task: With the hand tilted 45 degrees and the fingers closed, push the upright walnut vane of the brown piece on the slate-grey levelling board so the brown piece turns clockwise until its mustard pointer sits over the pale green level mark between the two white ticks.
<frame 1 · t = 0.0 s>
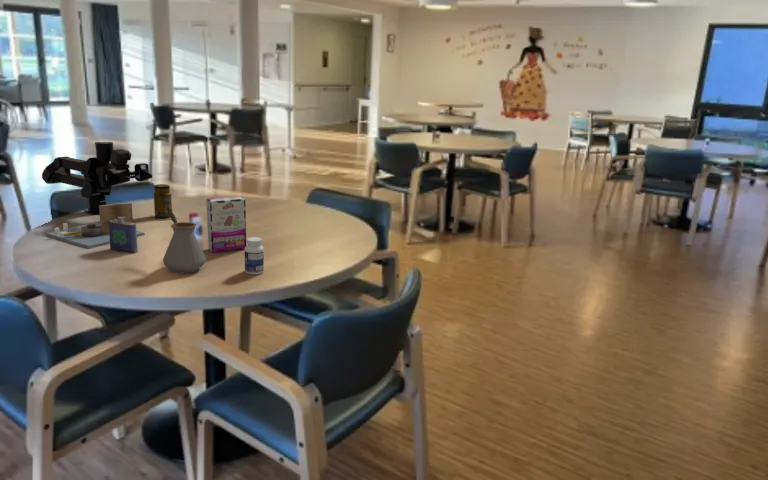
hand: (140, 177, 202), 17 cm above the table, tool horizontal, fingers open, 9 cm apart
condiment: (163, 217, 217), on the table
brown piece: (98, 219, 187), point 6 cm above the table, hinge at 0.0°
flask: (123, 251, 177), on the table
candy bar box: (227, 249, 184), on the table
pill bottle: (254, 272, 165), on the table
coffee pot: (179, 264, 168), on the table
stand: (96, 235, 190), on the table
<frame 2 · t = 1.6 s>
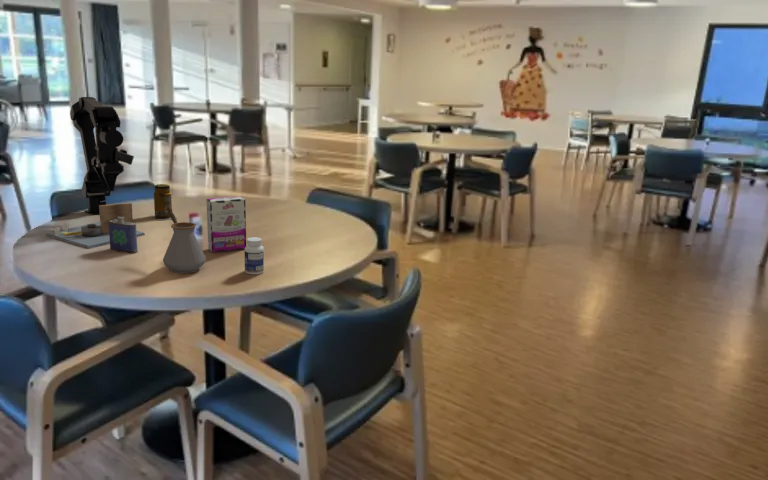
hand: (109, 188, 202), 12 cm above the table, tool pointing down, fingers open, 8 cm apart
nothing on the table moved.
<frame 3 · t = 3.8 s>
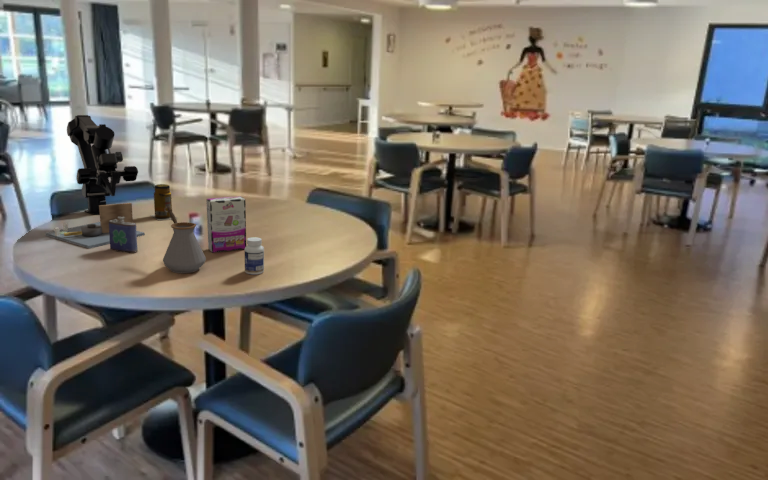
hand: (113, 195, 196), 11 cm above the table, tool tilted 45°, fingers closed
nothing on the table moved.
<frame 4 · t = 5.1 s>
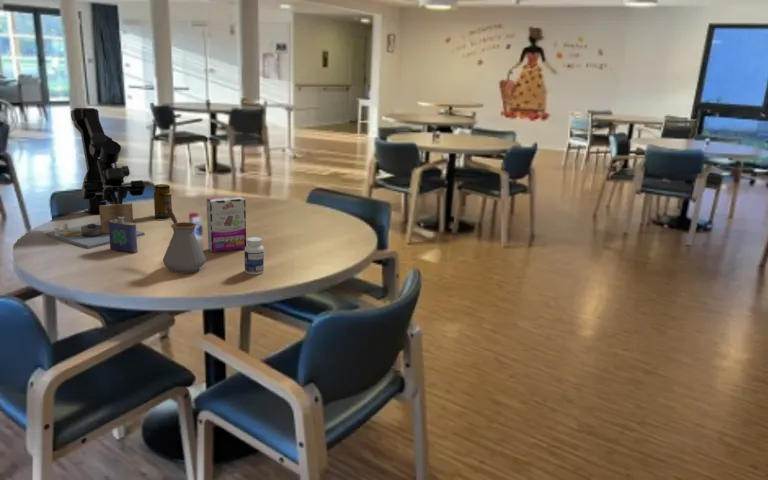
hand: (120, 210, 191), 8 cm above the table, tool tilted 45°, fingers closed, pressing on brown piece
brown piece: (98, 219, 187), point 6 cm above the table, hinge at -3.0°, touching gripper
everything else where it was.
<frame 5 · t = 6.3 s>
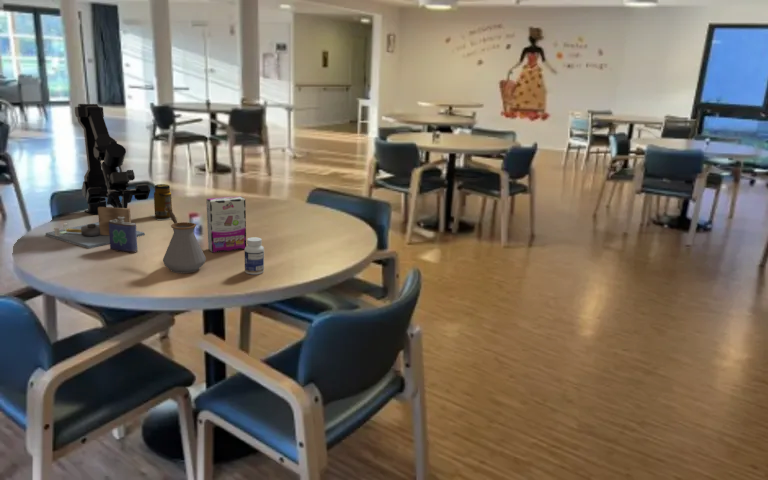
hand: (124, 215, 187), 7 cm above the table, tool tilted 45°, fingers closed
brown piece: (98, 220, 186), point 6 cm above the table, hinge at -38.3°, touching gripper
everything else where it was.
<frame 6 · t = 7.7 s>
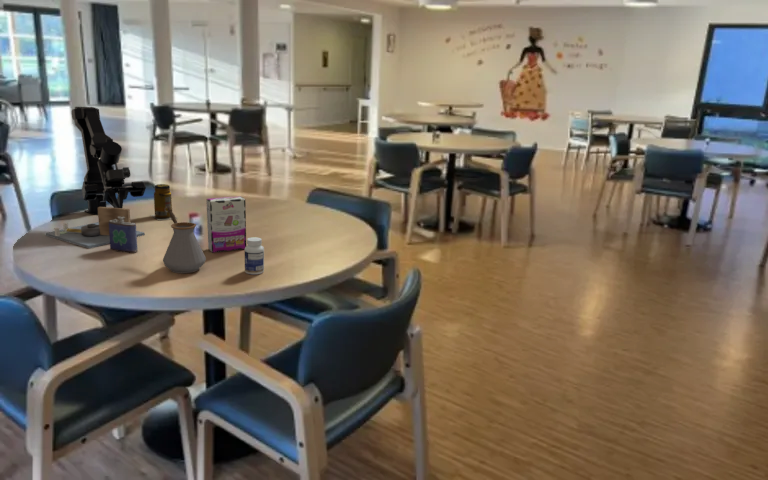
hand: (120, 212, 191), 7 cm above the table, tool tilted 45°, fingers closed
brown piece: (97, 220, 186), point 6 cm above the table, hinge at -40.0°
everything else where it was.
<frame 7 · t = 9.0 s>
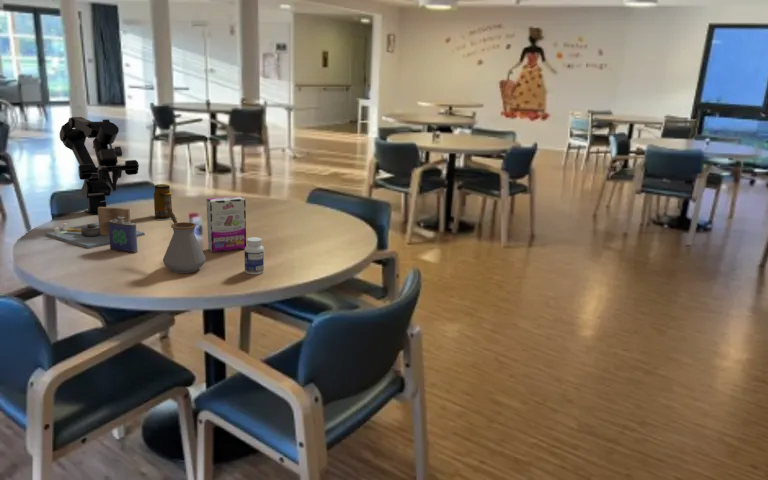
hand: (114, 190, 198), 13 cm above the table, tool tilted 45°, fingers closed
nothing on the table moved.
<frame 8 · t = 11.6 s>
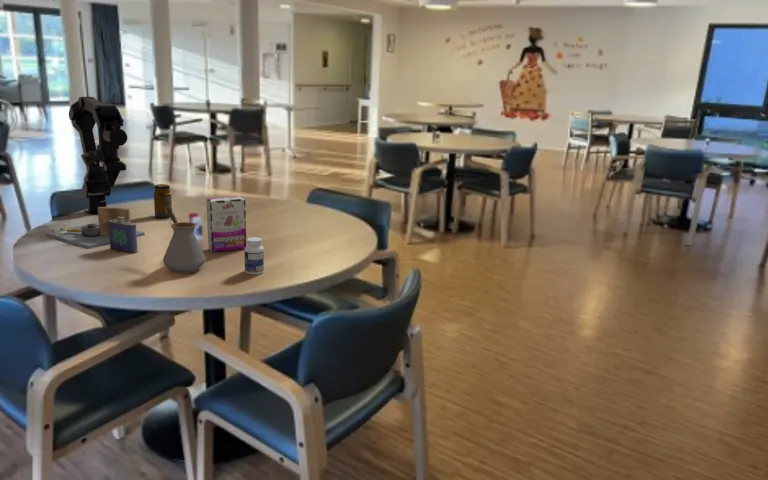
hand: (111, 187, 203), 12 cm above the table, tool pointing down, fingers closed
nothing on the table moved.
at the end: brown piece at -40° (first picture: +0°) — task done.
